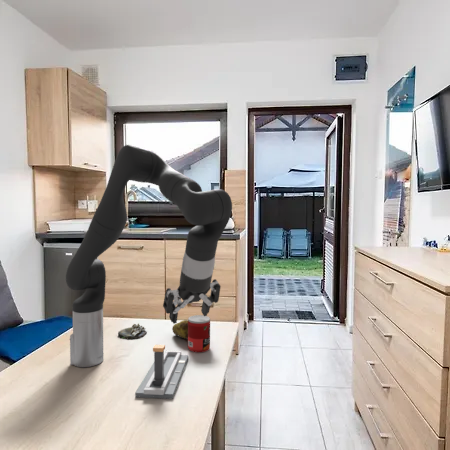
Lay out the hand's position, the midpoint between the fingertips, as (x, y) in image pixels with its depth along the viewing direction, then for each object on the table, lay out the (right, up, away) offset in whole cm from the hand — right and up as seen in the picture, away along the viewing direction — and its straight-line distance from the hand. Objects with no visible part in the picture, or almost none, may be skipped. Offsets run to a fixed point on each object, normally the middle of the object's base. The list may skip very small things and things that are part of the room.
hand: (188, 317), depth 91 cm
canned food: (0, -20, +34) cm, 40 cm away
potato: (-6, -20, +44) cm, 49 cm away
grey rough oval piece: (-27, -20, +49) cm, 59 cm away
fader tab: (-9, -20, +7) cm, 23 cm away
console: (-9, -21, +14) cm, 26 cm away
